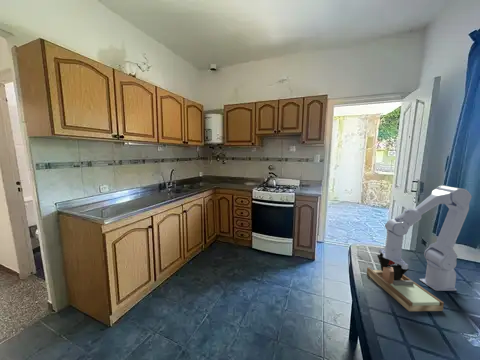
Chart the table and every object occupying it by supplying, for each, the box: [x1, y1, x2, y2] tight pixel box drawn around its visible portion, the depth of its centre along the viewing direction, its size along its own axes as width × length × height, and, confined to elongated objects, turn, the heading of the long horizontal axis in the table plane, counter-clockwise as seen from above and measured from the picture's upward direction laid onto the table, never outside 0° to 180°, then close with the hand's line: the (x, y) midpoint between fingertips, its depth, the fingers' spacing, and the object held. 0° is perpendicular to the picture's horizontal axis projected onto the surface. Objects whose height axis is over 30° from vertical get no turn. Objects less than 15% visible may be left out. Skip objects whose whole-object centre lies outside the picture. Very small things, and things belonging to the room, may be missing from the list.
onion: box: [388, 260, 396, 266], centre depth 109 cm, size 6×6×8 cm
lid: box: [390, 279, 440, 306], centre depth 82 cm, size 10×11×3 cm
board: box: [366, 266, 445, 312], centre depth 89 cm, size 13×24×3 cm, turn 3°
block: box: [381, 266, 394, 284], centre depth 94 cm, size 4×4×6 cm
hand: (390, 275), depth 94 cm, fingers open, 7 cm apart
